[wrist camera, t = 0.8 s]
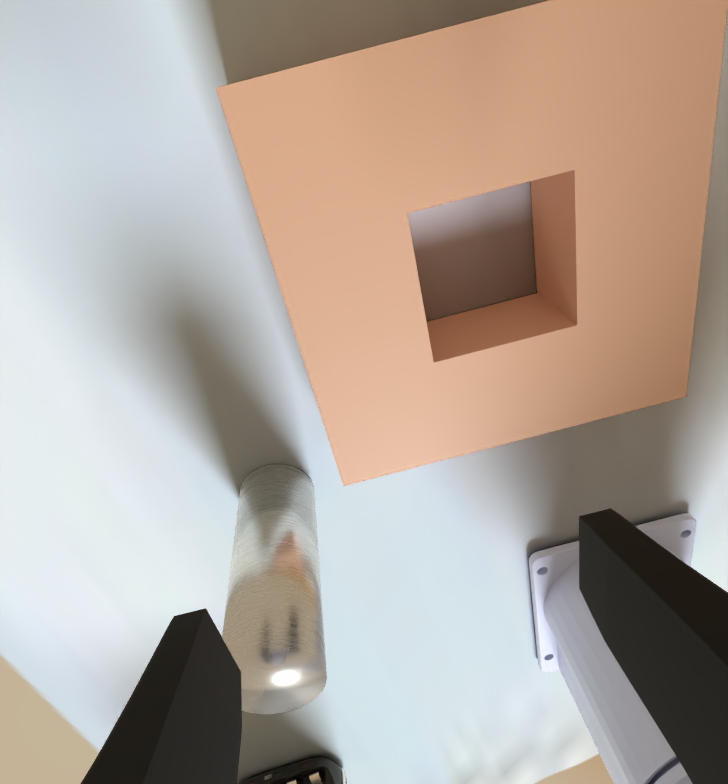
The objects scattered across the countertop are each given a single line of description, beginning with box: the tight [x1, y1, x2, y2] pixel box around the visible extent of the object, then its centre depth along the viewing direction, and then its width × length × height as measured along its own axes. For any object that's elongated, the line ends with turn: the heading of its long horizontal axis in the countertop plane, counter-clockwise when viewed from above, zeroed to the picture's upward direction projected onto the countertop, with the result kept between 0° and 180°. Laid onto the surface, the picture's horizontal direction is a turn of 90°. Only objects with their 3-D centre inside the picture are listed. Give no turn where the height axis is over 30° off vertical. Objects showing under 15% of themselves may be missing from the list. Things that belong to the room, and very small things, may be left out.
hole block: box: [216, 0, 728, 486], centre depth 16 cm, size 12×12×3 cm
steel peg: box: [222, 464, 327, 714], centre depth 18 cm, size 3×3×8 cm
